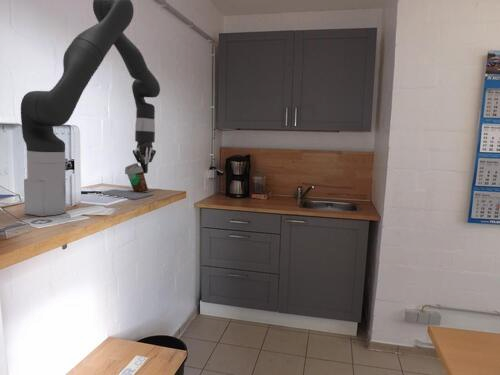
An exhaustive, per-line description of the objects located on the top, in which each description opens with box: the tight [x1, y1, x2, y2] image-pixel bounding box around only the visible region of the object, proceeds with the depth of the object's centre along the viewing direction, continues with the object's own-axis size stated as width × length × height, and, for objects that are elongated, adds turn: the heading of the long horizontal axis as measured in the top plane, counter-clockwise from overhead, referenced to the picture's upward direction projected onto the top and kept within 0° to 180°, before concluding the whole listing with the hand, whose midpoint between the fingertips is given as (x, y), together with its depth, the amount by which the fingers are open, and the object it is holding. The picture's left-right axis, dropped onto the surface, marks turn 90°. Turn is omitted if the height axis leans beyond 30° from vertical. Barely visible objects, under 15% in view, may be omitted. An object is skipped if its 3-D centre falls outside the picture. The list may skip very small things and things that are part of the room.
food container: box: [124, 162, 149, 193], centre depth 142 cm, size 12×6×10 cm, turn 25°
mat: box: [95, 188, 154, 201], centre depth 135 cm, size 12×18×1 cm, turn 72°
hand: (144, 173), depth 146 cm, fingers closed
